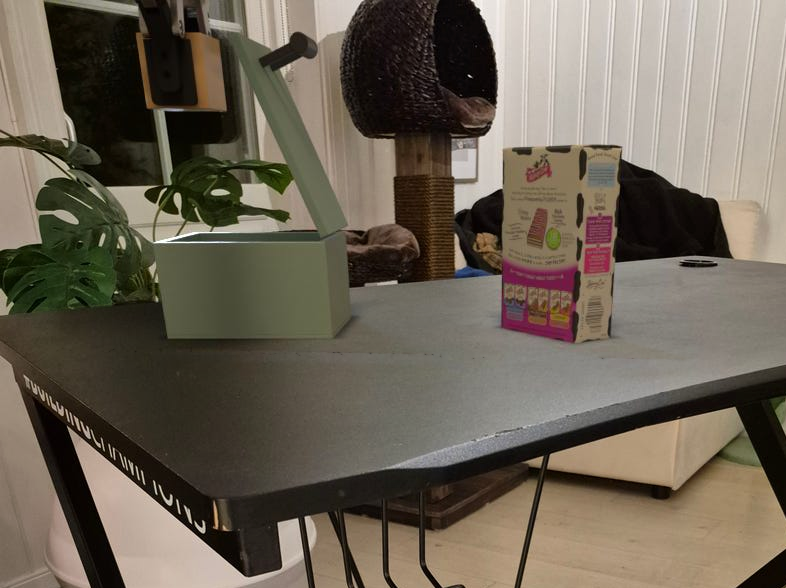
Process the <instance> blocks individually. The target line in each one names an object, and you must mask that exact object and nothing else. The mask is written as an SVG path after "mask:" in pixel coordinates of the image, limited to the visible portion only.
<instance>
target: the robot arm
mask: <svg viewBox="0 0 786 588" xmlns="http://www.w3.org/2000/svg"><path fill="white" fill-rule="evenodd" d="M134 2H135V4H137V12H138V25H139V30H140V33H141V34H142V36H143V38H151V39H143V44H144V51H145V58H146V65H147V72H148V78H149V85H150V92H151V99H152V102H153V103H154V104H155V105H158V106H195V105H196V104H197V103H198V96H197V88H196V80H195V72H194V64H193V56H192V48H191V40H190V39H179V38H184V34H185V33H202V34H205V35H207V36H210V37H212V30H211V24H210V22H211V20H210V14H209V11H210V6H211V5H210V0H134ZM212 38H213V37H212Z"/></svg>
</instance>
